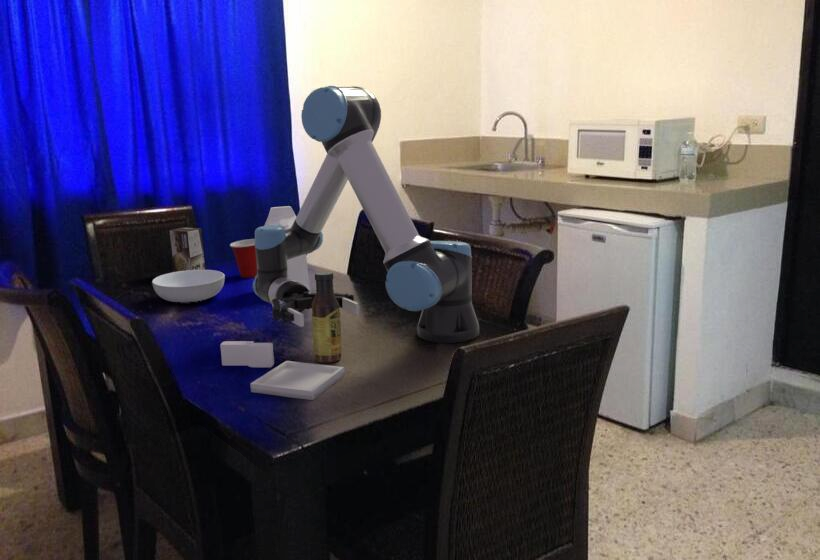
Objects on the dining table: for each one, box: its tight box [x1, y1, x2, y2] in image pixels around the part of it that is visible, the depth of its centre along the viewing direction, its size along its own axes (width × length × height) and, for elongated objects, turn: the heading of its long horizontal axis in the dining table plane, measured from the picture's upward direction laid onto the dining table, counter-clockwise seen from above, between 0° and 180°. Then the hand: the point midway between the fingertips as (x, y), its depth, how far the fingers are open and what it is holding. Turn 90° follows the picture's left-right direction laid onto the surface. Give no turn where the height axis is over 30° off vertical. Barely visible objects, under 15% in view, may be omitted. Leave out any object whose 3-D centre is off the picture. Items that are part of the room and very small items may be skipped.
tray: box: [250, 360, 346, 401], centre depth 152 cm, size 14×14×2 cm
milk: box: [264, 205, 311, 292], centre depth 226 cm, size 12×12×26 cm
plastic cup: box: [229, 238, 257, 279], centre depth 249 cm, size 11×11×12 cm
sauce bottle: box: [311, 270, 343, 364], centre depth 164 cm, size 6×6×20 cm
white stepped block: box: [219, 340, 275, 368], centre depth 163 cm, size 15×11×6 cm
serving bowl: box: [151, 269, 226, 304], centre depth 221 cm, size 21×21×7 cm
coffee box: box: [169, 227, 206, 272], centre depth 252 cm, size 9×6×16 cm
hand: (330, 314), depth 161 cm, fingers open, 13 cm apart
